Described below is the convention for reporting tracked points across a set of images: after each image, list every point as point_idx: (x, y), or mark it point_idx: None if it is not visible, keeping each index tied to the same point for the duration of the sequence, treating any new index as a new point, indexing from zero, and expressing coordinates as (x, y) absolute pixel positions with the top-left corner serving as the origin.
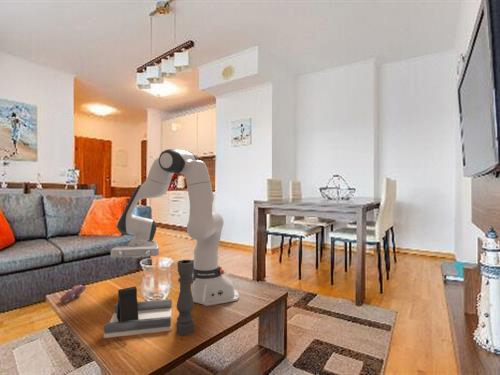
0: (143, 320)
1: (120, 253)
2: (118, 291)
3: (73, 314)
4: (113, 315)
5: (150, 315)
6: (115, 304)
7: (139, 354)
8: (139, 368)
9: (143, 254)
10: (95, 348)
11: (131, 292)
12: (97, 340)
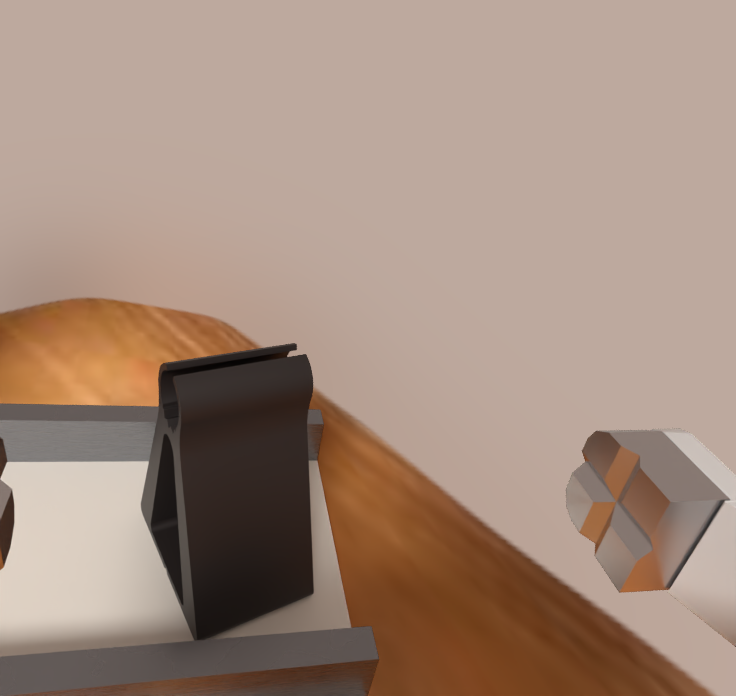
0: (109, 409)
1: (721, 463)
2: (309, 377)
3: None
4: (346, 627)
5: (43, 591)
6: (368, 648)
7: (132, 347)
8: (131, 307)
9: (1, 452)
10: (313, 398)
11: (202, 370)
12: (330, 438)
